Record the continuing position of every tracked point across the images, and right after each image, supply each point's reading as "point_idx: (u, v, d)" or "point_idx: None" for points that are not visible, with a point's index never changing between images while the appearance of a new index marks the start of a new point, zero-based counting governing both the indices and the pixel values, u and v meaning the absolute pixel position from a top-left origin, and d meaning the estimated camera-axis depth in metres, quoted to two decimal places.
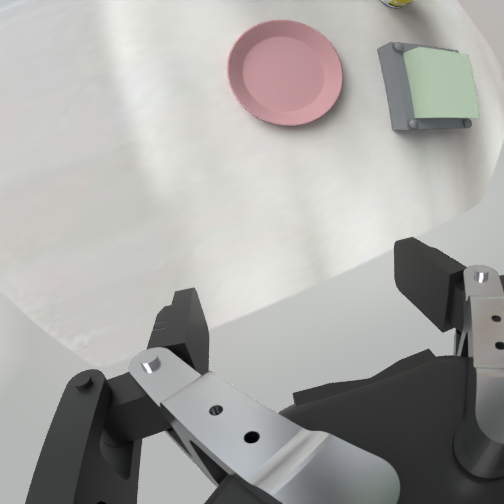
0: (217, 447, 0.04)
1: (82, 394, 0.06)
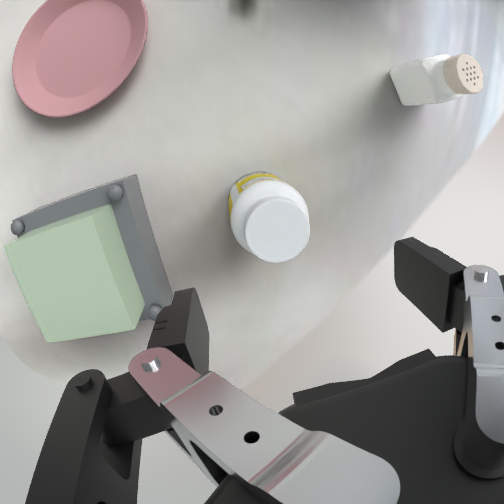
0: (217, 447, 0.04)
1: (82, 394, 0.06)
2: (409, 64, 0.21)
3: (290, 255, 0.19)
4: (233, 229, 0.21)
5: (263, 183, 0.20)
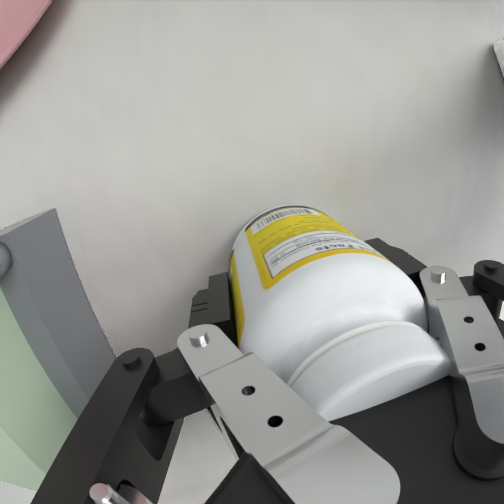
0: (240, 426, 0.04)
1: (127, 372, 0.07)
2: None
3: None
4: None
5: (338, 270, 0.07)
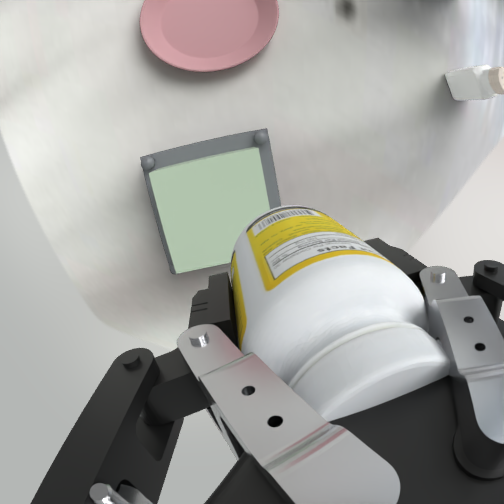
0: (240, 426, 0.04)
1: (127, 372, 0.07)
2: (462, 70, 0.26)
3: None
4: None
5: (340, 272, 0.07)
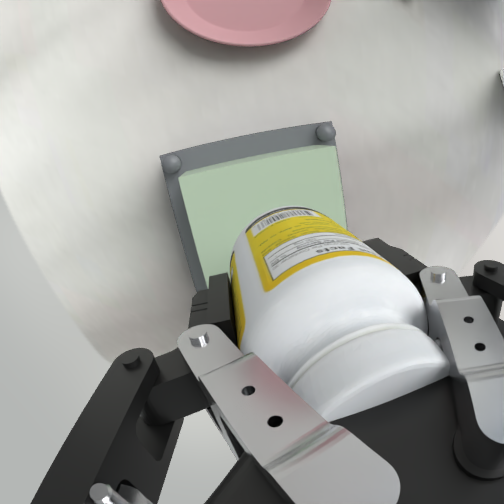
0: (240, 426, 0.04)
1: (128, 372, 0.07)
2: None
3: None
4: None
5: (338, 273, 0.07)
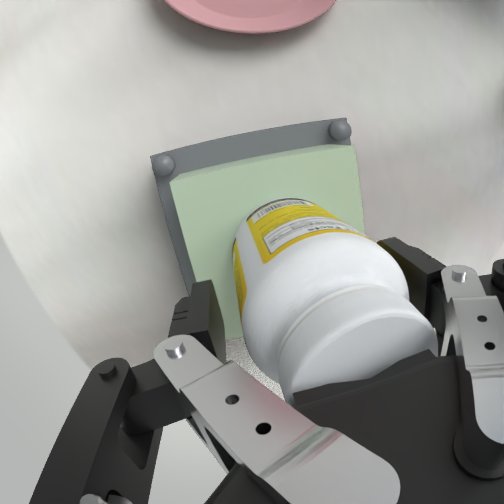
0: (228, 436, 0.04)
1: (104, 382, 0.07)
2: None
3: None
4: (249, 348, 0.09)
5: (326, 244, 0.08)
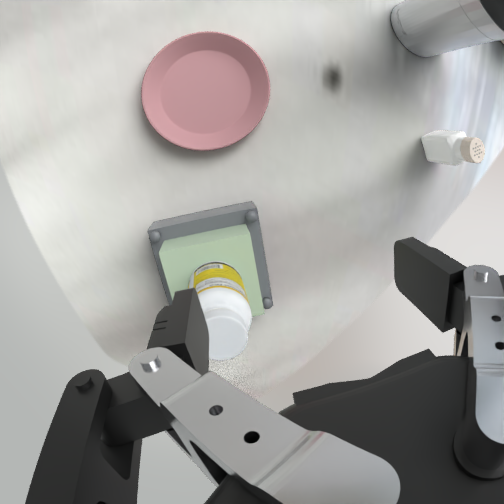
0: (217, 447, 0.04)
1: (82, 394, 0.06)
2: (437, 137, 0.33)
3: (231, 355, 0.23)
4: None
5: (211, 292, 0.24)
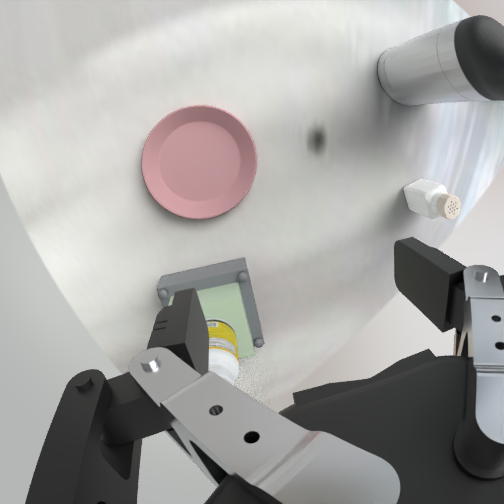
0: (217, 447, 0.04)
1: (82, 394, 0.06)
2: (417, 191, 0.38)
3: None
4: None
5: None
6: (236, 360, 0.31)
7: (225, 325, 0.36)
